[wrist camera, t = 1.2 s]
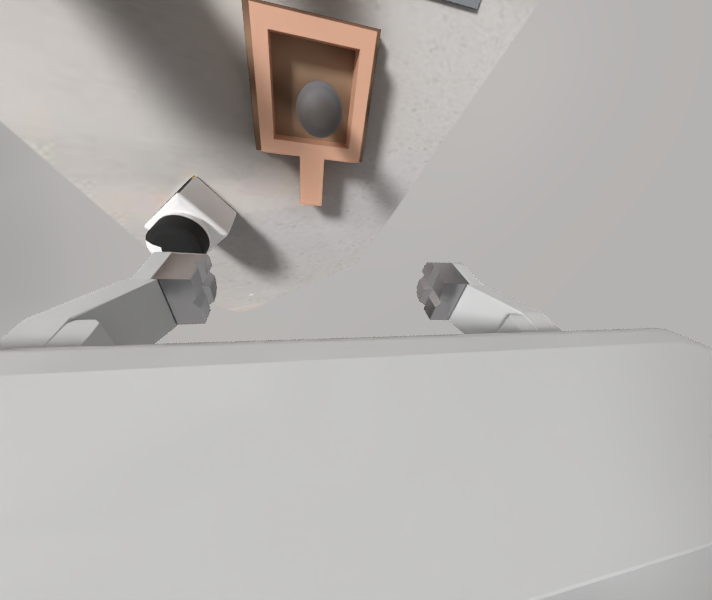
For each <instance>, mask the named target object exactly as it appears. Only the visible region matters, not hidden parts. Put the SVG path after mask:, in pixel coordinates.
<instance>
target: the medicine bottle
mask: <svg viewBox="0 0 712 600" xmlns="http://www.w3.org/2000/svg"><path fill="white" fill-rule="evenodd" d="M236 215H237V213H236V212H235V211H234V210H233V209H232V208H231V207H230V206H229V205H228V204H226V203H225V202H224V201H223V200H222V199H221V198H220V197H219V196H218V195H216V194H215V193H214V192H213V191H212V190H211V189H210V188H209V187H208V186H206V185H205V184H204V183H203V182H202V181H201V180H200V179H199V178H198V177H196V176H192V177H191V178H190V179H189V180H188V181H187V182H186V183H185V184H184V185H183V186H182V187H181V188H180V189H179V190H178V191H177V192H176V193H175V194H174V195H173V196H172V197H171V198H170V199H169V200H168V201H167V202H166V203H165V204H164V205H163V206H162V207H161V209H160V210H159V211H158V212H157V213H156V214H155V215H154V216H153V217H152V218H151V219H150V220H149V221H148V222H147V223H146V224H145V228H146V229H147V230H149V231H148V232H147V234H146V245H147V247H148V249H149V251H150V252H151V253H152V254H153V253H154V252H173V253H174V252H177V253H196V254H206V253H208V252H209V251H210V250H211V249H212V248H213V247H215V246H216V245H217V244H218V243H219V242H221V241H222V240H223V239H224V238H225V237H226V236H228V234H229V232H230V229H231V227H232V224H233V222H234V220H235V217H236Z"/></svg>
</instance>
